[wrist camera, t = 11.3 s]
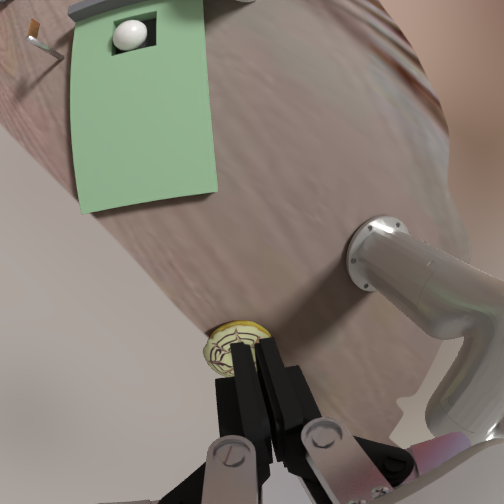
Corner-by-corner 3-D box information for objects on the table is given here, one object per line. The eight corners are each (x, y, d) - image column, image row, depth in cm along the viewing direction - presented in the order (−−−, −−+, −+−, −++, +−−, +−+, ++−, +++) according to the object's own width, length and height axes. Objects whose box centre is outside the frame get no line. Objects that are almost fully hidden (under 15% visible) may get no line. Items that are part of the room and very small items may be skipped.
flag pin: (66, 40, 23) (34, 17, 13) (64, 59, 24) (29, 39, 15) (61, 42, 23) (29, 20, 13) (59, 61, 24) (25, 41, 14)
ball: (152, 48, 25) (150, 28, 25) (141, 28, 21) (140, 9, 21) (120, 61, 26) (120, 40, 25) (106, 43, 21) (108, 23, 21)
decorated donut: (191, 349, 42) (191, 364, 38) (231, 303, 40) (233, 316, 36) (242, 375, 45) (245, 390, 41) (283, 334, 43) (288, 348, 40)
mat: (202, -7, 24) (202, -27, 19) (217, 189, 34) (219, 194, 29) (82, 20, 22) (69, 6, 17) (88, 211, 32) (71, 219, 27)
